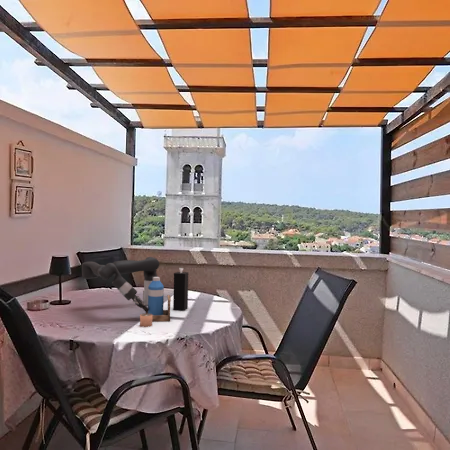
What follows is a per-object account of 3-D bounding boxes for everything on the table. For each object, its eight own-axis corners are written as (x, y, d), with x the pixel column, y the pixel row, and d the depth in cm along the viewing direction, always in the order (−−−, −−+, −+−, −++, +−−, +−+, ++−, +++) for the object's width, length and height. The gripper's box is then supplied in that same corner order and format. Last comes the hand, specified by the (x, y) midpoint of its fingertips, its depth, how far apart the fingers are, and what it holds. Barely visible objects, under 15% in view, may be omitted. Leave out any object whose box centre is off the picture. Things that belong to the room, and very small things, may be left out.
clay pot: (137, 325, 243) (137, 315, 243) (145, 323, 249) (145, 312, 249) (146, 327, 239) (146, 316, 239) (154, 324, 245) (154, 314, 245)
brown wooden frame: (145, 321, 252) (145, 300, 251) (145, 315, 266) (146, 295, 266) (170, 321, 254) (170, 299, 254) (169, 315, 269) (169, 295, 268)
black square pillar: (184, 311, 282) (185, 268, 281) (172, 310, 283) (173, 268, 282) (187, 308, 289) (188, 267, 288) (176, 307, 291) (177, 266, 290)
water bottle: (163, 319, 258) (164, 278, 257) (147, 320, 256) (148, 278, 255) (162, 315, 267) (163, 276, 266) (147, 316, 265) (148, 276, 264)
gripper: (123, 293, 263) (143, 312, 265) (122, 297, 250) (142, 317, 252) (132, 284, 263) (152, 304, 266) (131, 288, 250) (152, 308, 253)
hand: (147, 310), depth 259 cm, fingers closed
